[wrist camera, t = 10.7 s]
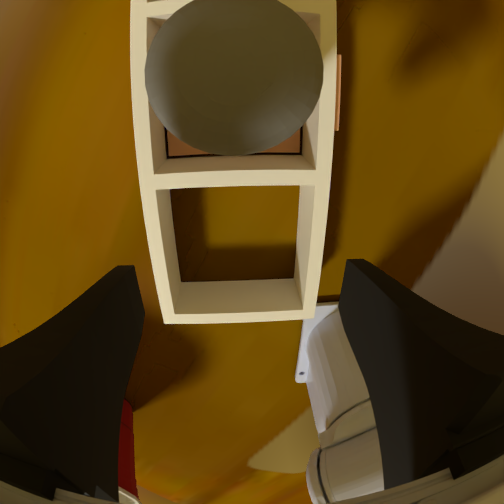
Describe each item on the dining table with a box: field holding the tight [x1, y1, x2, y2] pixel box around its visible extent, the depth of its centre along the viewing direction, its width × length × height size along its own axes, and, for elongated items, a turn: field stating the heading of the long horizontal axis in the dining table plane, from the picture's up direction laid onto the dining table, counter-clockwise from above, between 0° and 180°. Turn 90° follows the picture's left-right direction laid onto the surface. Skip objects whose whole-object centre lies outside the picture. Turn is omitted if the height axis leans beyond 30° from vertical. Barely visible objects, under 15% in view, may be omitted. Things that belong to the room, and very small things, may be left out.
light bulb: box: [144, 0, 324, 156], centre depth 11 cm, size 6×6×10 cm
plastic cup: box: [118, 399, 142, 504], centre depth 24 cm, size 11×11×12 cm
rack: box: [130, 0, 341, 324], centre depth 15 cm, size 27×10×4 cm, turn 0°
